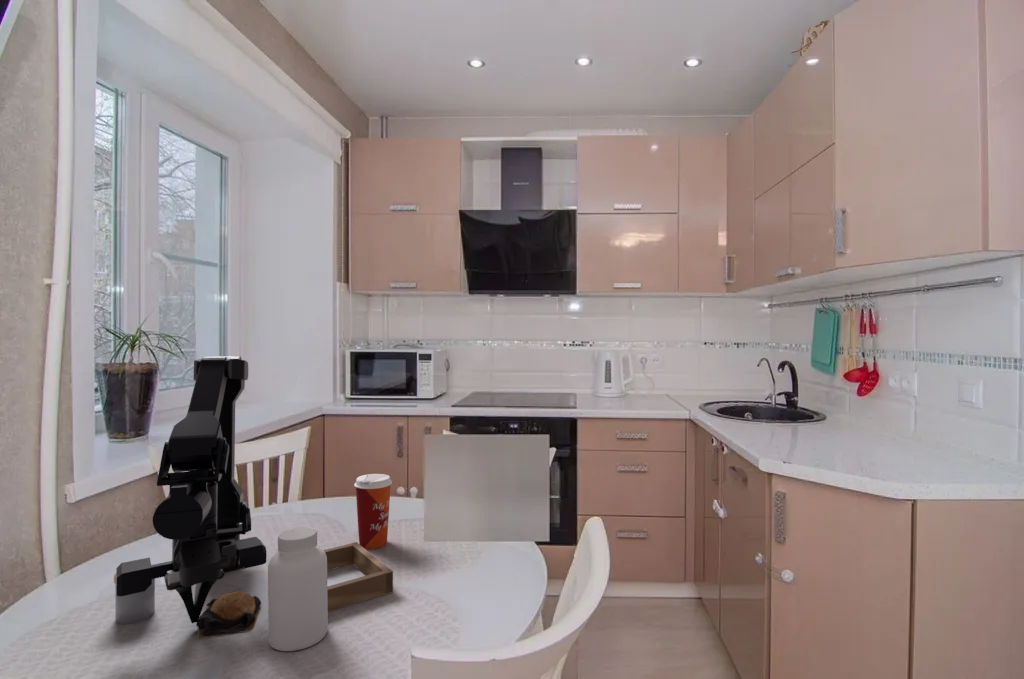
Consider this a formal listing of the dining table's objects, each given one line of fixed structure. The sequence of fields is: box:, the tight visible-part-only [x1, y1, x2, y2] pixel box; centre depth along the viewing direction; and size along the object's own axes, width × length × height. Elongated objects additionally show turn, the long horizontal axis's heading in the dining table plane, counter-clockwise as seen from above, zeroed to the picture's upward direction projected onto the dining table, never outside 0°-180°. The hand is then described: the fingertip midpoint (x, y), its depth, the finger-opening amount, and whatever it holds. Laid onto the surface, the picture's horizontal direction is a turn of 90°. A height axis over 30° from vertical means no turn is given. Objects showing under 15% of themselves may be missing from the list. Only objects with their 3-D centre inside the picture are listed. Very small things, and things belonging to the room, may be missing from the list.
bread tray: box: [323, 542, 394, 613], centre depth 92 cm, size 16×15×4 cm
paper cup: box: [354, 473, 393, 550], centre depth 112 cm, size 8×8×14 cm
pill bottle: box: [267, 527, 329, 652], centre depth 77 cm, size 8×8×15 cm
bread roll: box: [195, 590, 262, 640], centre depth 82 cm, size 11×8×4 cm
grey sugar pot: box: [113, 573, 156, 625], centre depth 83 cm, size 5×5×7 cm
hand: (194, 621), depth 79 cm, fingers closed
